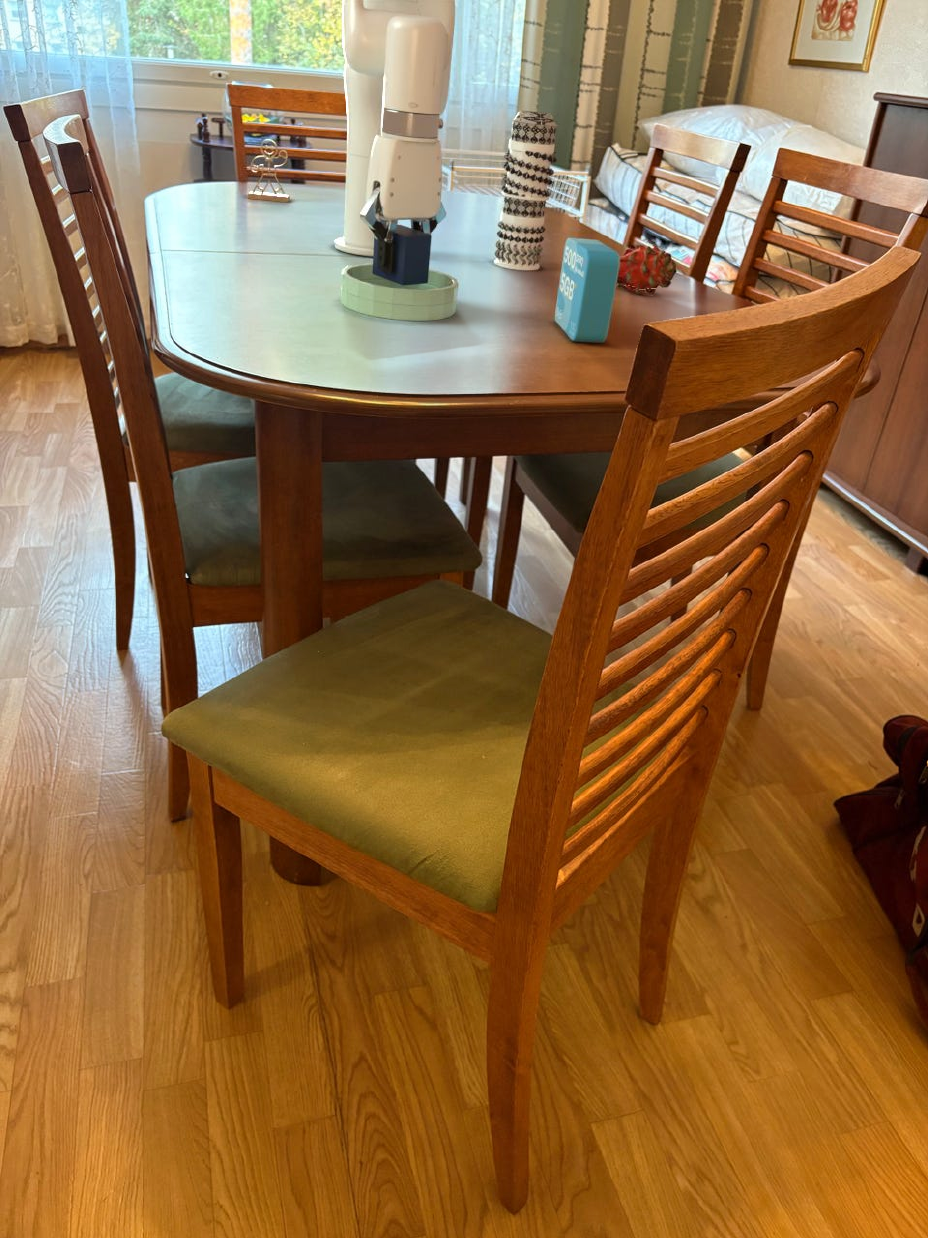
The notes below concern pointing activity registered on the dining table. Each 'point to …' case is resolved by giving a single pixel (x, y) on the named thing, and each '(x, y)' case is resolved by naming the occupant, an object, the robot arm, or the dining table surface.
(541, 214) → the decorative candle
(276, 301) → the dining table surface
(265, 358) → the dining table surface
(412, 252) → the navy blue block
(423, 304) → the bowl
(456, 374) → the dining table surface
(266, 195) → the wire figure figurine
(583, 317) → the data package
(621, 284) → the dragon fruit
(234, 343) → the dining table surface
